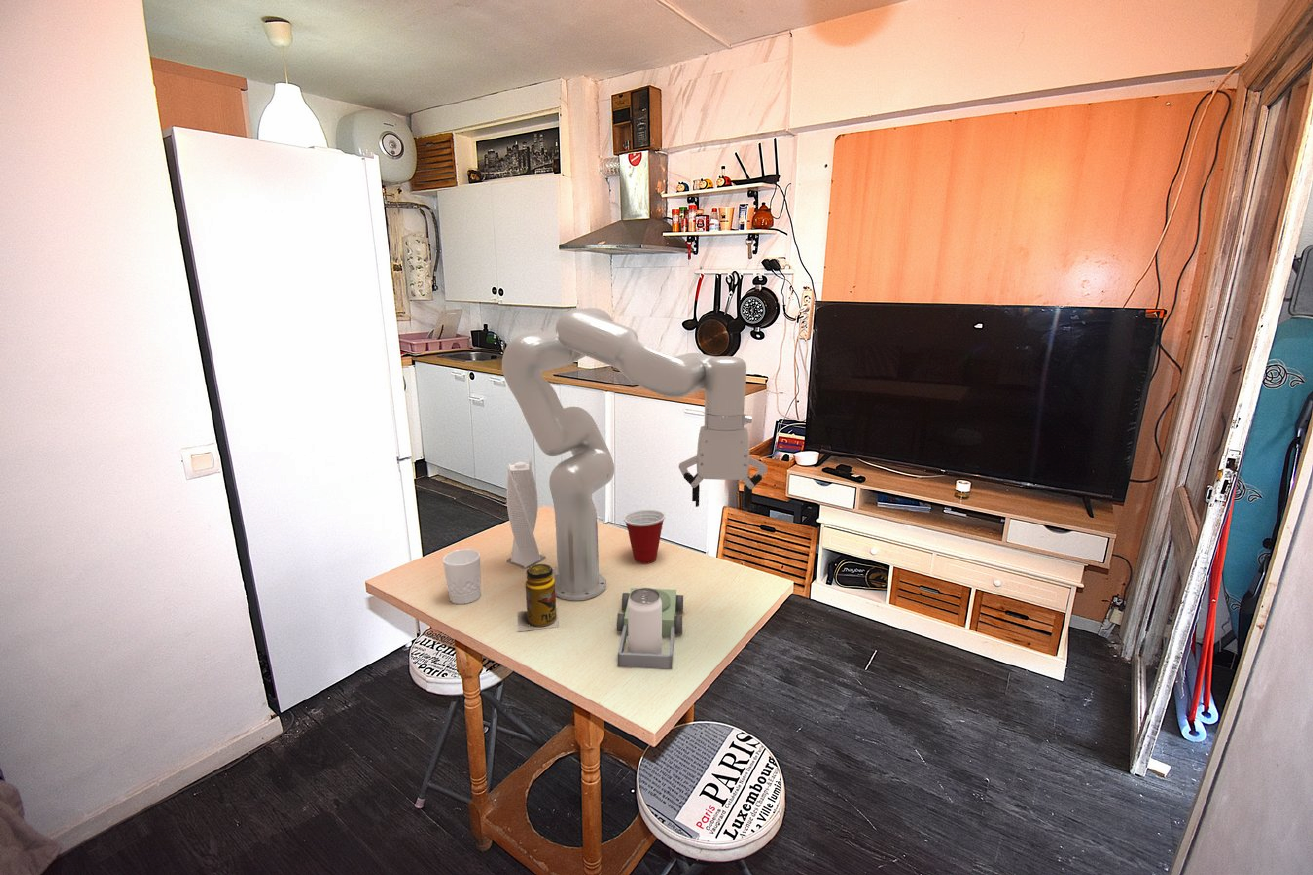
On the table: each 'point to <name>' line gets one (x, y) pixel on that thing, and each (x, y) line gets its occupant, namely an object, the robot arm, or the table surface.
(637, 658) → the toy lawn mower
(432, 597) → the table surface
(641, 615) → the can
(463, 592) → the white cup
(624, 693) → the table surface
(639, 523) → the plastic cup
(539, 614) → the condiment
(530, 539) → the skyscraper
